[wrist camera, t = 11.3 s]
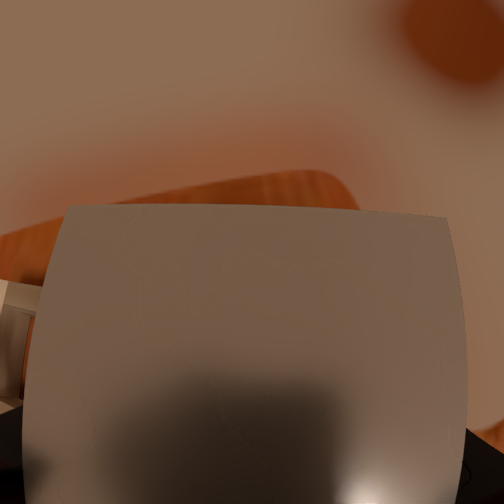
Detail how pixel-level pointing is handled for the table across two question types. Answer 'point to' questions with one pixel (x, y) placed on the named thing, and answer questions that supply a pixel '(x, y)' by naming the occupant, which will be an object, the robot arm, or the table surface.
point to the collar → (14, 337)
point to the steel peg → (246, 358)
